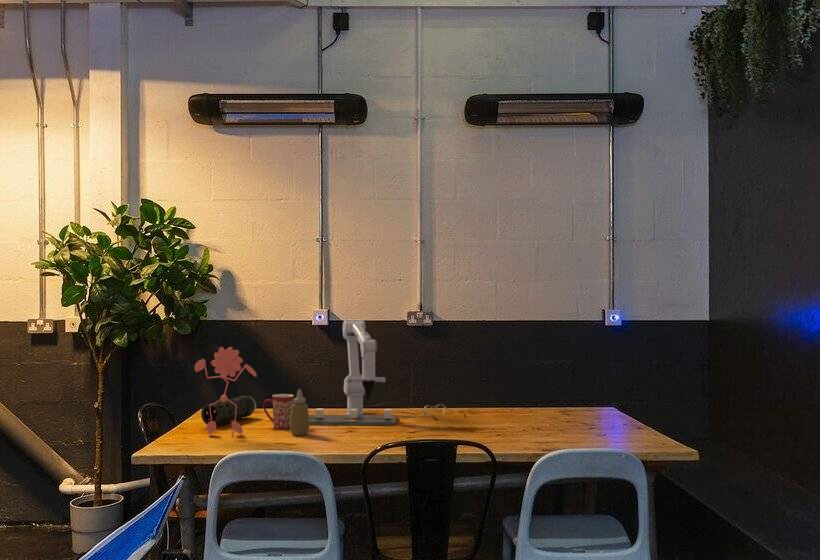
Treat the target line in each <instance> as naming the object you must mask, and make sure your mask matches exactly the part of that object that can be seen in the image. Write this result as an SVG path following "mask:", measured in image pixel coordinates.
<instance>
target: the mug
mask: <svg viewBox="0 0 820 560" xmlns="http://www.w3.org/2000/svg"><path fill="white" fill-rule="evenodd" d="M267 402H269V403H271V407H272V415H273V417H271V415H270V414H269V412H268V411H267V407H266V404H267ZM292 404H294V395H293V394H291V393H289V394H288V393H280V394H273V395H272V399H270V398H268V399H265V400H264V401H263V406H262V408H263V411H264V413H265V415H266V416H267V418H269V420H270V421H271V423H272V424H273V425H272V426H273V428H274V429H278V430H284V429H290V427H289V423H290V413H291V405H292Z"/></svg>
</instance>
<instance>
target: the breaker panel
mask: <svg viewBox="0 0 820 560" xmlns="http://www.w3.org/2000/svg"><path fill="white" fill-rule="evenodd" d="M397 420H398V415H396V414H395V415H394V414H392V417H391V419H384V414H382V415H381V414H380V415H379V414H378V415H377V414H373V415H372V414H363V415H358V417H357V418H350V415H345V414H324V417H323V418H316V414H309V424H310V426H350V427H351V426H355V427H356V426H358V427H361V426H363V427H364V426H365V427H366V426H370V427H373V426H376V427H395V425H396V423H397Z"/></svg>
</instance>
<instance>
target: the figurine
mask: <svg viewBox="0 0 820 560" xmlns="http://www.w3.org/2000/svg"><path fill="white" fill-rule="evenodd" d="M233 348H234V347H233V346H229V347H227V348H226V349H225V348H224V347H223V346H220V347H219V349H218V352H214V355H213V356H214V359H213V360H211V361H210V364H211V366H213V367H215V368H214V373H215V374H220V375H215V376H208V370H207V366H206V364H207V362H206V360H205V358H202V359H199V360H198V361H197V362H196V363H195V364H194V370H195V372H196V373H197V372H200V371H202V370H203V369H204V370H205V371H204V372H205V376H206V378H207V379H215V378H220V379H222V380H224V381H225V382H226V384H225V385H226V386H225V389H224V394H221V396H220V398H219V399H218V400H217V401H215V402H212V403H213V404H215V403H216V402H220V401H223V402H225V401H227V400H228V401H230V399H229V398H228V396H227V394H226V393H227V389H228V385H229V381H232V382H236V381H237V380H238V377H239V376H240V375H241V374H242V372H244V370H245V369H246V371H248V373H249V374H251V375H252V376H253V377H255V378H257V377H258V375H257V372H256V370H255V369H254V368H253V367H252V366H251V365H248V364H247V363H245V364H244V366H243V367H241V364H242V363H243V362H244V360H243V358H242V357H240V356H239V354H240V350H238V349H233ZM237 372H239V373H238V374H237V375H236V373H237ZM228 375H229V376H230V377H231V378H230V377H227V376H228ZM235 376H236V377H235ZM234 377H235V378H234ZM232 378H233V379H232ZM228 380H229V381H228ZM230 402H231V401H230ZM231 403H233V402H231ZM210 404H211V403H210ZM213 404H211V405H213ZM233 404H234V403H233ZM211 405H210V406H211ZM234 405H236V404H234ZM210 406H209V408H210ZM236 410H237V406H236ZM210 416H211V409H210ZM205 428H206V432H207V433H208V434H209V435H208V438H211V435H212V433H214V432H216V429H217V426H216V423H215V422H214V421H212V416H211V422H209V423H208V425H207V424H206V427H205ZM231 428H232V430H228V432H232V433H231V438H234V436H235V435H234V434H235V432H236V433H238V434H240V435H242V434H243V432H244V431H243V426H242V425H241V424H240V423H239V422H238V421H236V411H235V420H233V421H231ZM247 438H249V436H247Z"/></svg>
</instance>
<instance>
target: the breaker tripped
mask: <svg viewBox="0 0 820 560" xmlns="http://www.w3.org/2000/svg"><path fill="white" fill-rule="evenodd" d="M357 417H358V409H350V418H357Z"/></svg>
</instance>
